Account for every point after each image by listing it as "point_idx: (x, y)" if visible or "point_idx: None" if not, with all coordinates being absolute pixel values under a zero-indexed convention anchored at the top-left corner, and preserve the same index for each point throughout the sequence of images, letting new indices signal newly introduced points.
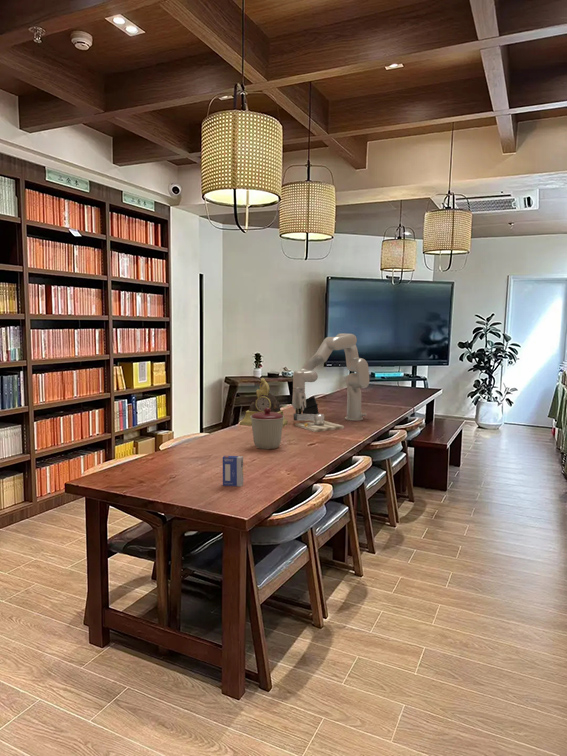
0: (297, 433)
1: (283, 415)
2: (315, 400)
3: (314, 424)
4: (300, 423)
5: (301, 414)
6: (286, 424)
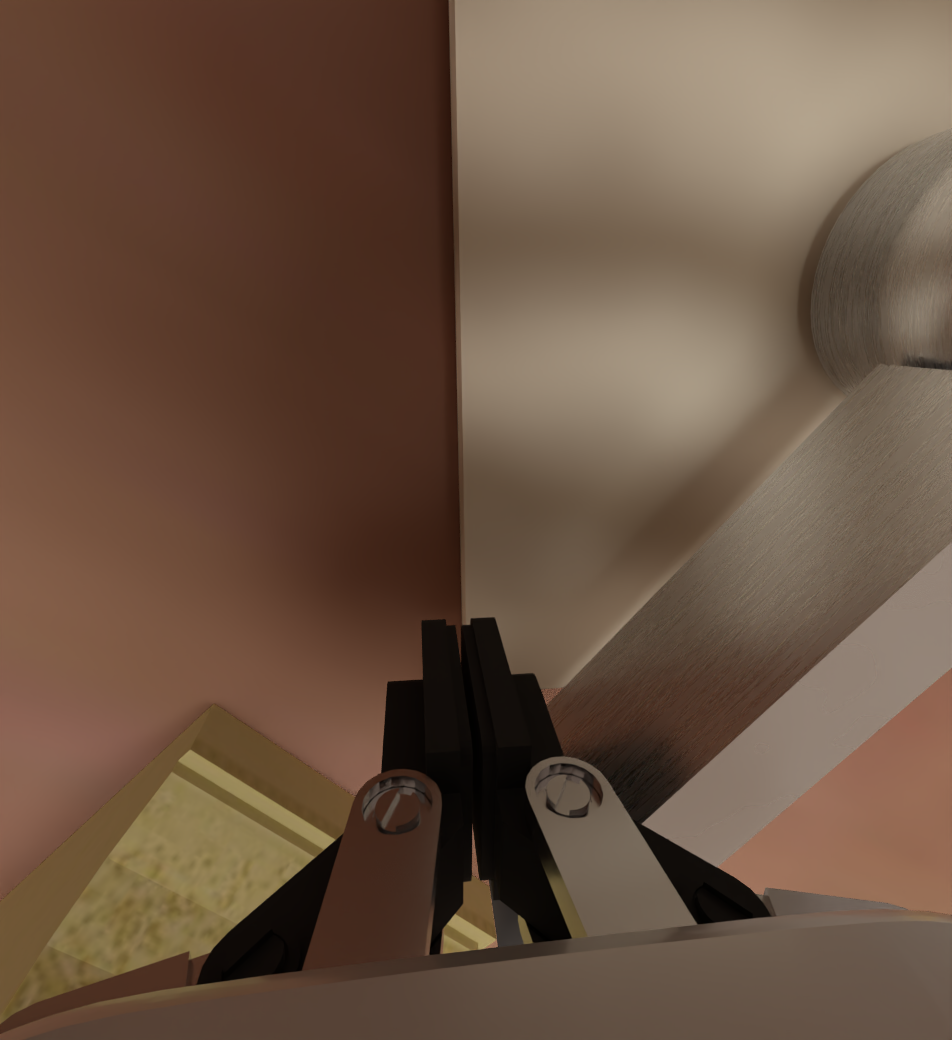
0: (929, 849)
1: (60, 952)
2: None
3: (807, 375)
4: (521, 600)
5: (750, 825)
6: (284, 756)
